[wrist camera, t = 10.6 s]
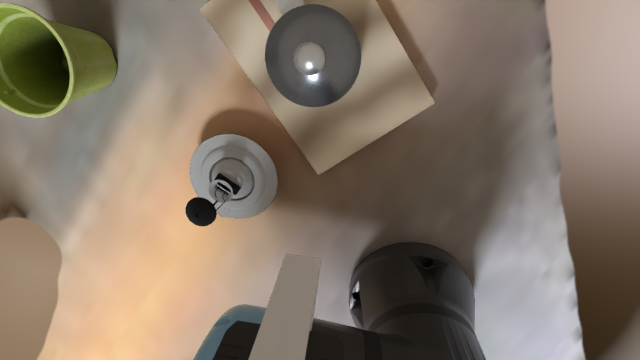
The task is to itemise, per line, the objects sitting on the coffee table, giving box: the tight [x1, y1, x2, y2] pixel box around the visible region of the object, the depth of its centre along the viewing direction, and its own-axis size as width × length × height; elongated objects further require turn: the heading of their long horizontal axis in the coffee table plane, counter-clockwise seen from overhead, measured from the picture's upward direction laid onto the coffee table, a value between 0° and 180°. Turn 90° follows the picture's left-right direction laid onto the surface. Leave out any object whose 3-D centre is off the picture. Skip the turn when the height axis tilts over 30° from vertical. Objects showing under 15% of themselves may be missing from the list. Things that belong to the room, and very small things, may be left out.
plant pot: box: [0, 3, 117, 118], centre depth 34 cm, size 9×9×9 cm
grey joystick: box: [186, 134, 278, 226], centre depth 35 cm, size 12×10×10 cm
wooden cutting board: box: [200, 0, 435, 175], centre depth 34 cm, size 20×14×2 cm
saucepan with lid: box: [265, 0, 361, 107], centre depth 28 cm, size 16×8×7 cm, turn 24°
